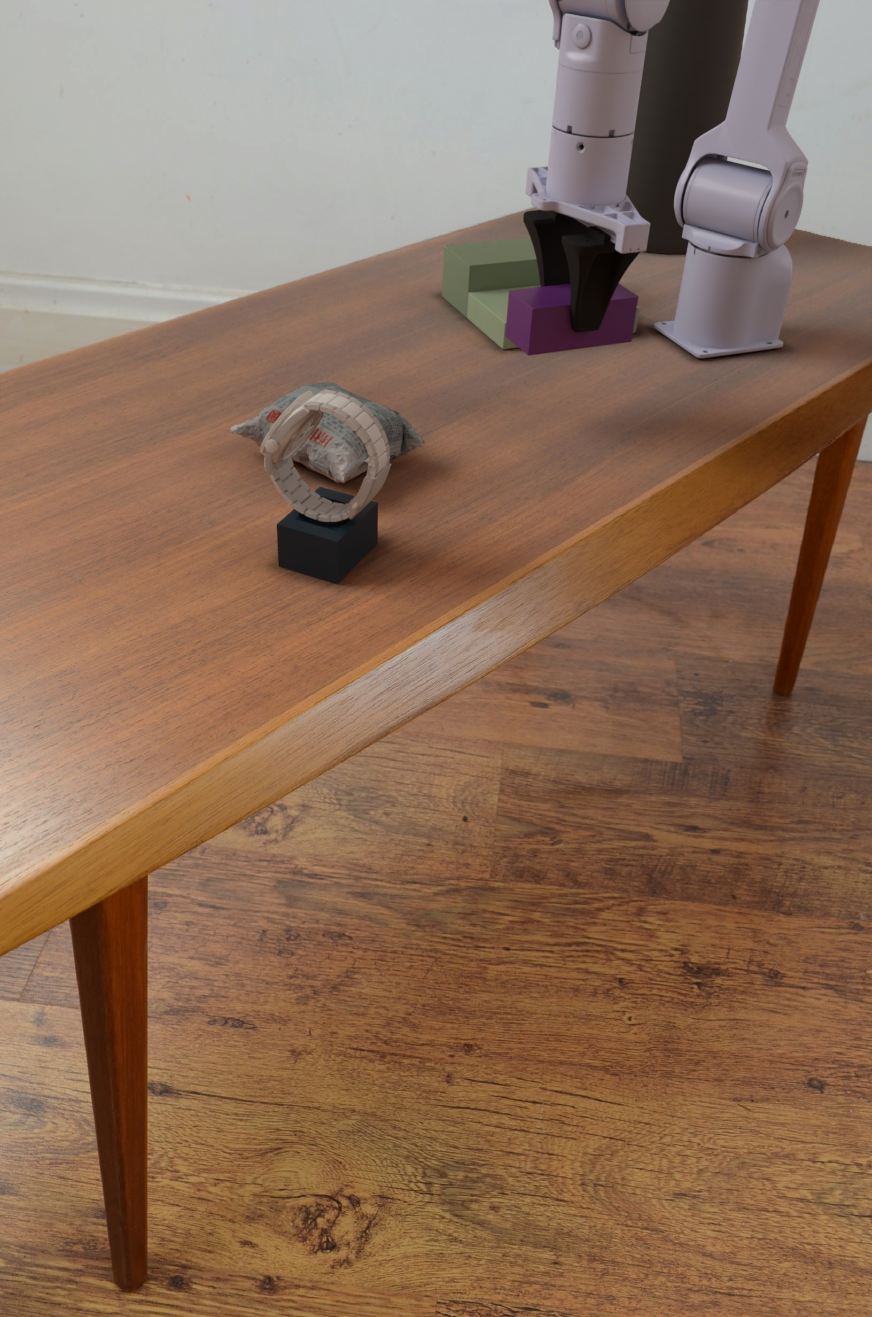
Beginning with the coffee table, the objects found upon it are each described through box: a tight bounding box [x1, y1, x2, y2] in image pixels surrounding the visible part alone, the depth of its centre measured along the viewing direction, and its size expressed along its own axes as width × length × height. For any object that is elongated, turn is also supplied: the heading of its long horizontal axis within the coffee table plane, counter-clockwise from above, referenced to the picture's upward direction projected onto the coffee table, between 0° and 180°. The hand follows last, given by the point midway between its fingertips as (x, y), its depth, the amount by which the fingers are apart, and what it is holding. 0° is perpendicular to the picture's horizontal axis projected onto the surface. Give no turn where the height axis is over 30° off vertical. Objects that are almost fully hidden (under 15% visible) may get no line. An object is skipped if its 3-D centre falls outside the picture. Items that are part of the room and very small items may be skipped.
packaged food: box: [229, 381, 425, 484], centre depth 84 cm, size 9×12×5 cm
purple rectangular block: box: [505, 282, 639, 356], centre depth 88 cm, size 9×4×4 cm, turn 113°
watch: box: [259, 389, 392, 585], centre depth 72 cm, size 6×8×11 cm
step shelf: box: [441, 237, 641, 350], centre depth 110 cm, size 14×14×5 cm
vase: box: [626, 0, 749, 255], centre depth 124 cm, size 14×14×29 cm
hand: (570, 318), depth 88 cm, fingers closed on purple rectangular block, 4 cm apart
